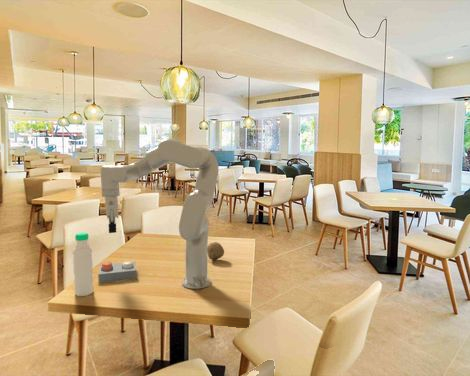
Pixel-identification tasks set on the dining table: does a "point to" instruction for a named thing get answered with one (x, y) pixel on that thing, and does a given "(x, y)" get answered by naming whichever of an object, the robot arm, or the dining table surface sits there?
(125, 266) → the domed peg
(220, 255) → the natural sponge
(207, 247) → the robot arm
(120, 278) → the panel
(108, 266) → the red plug
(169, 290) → the dining table surface
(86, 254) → the water bottle
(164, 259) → the dining table surface
